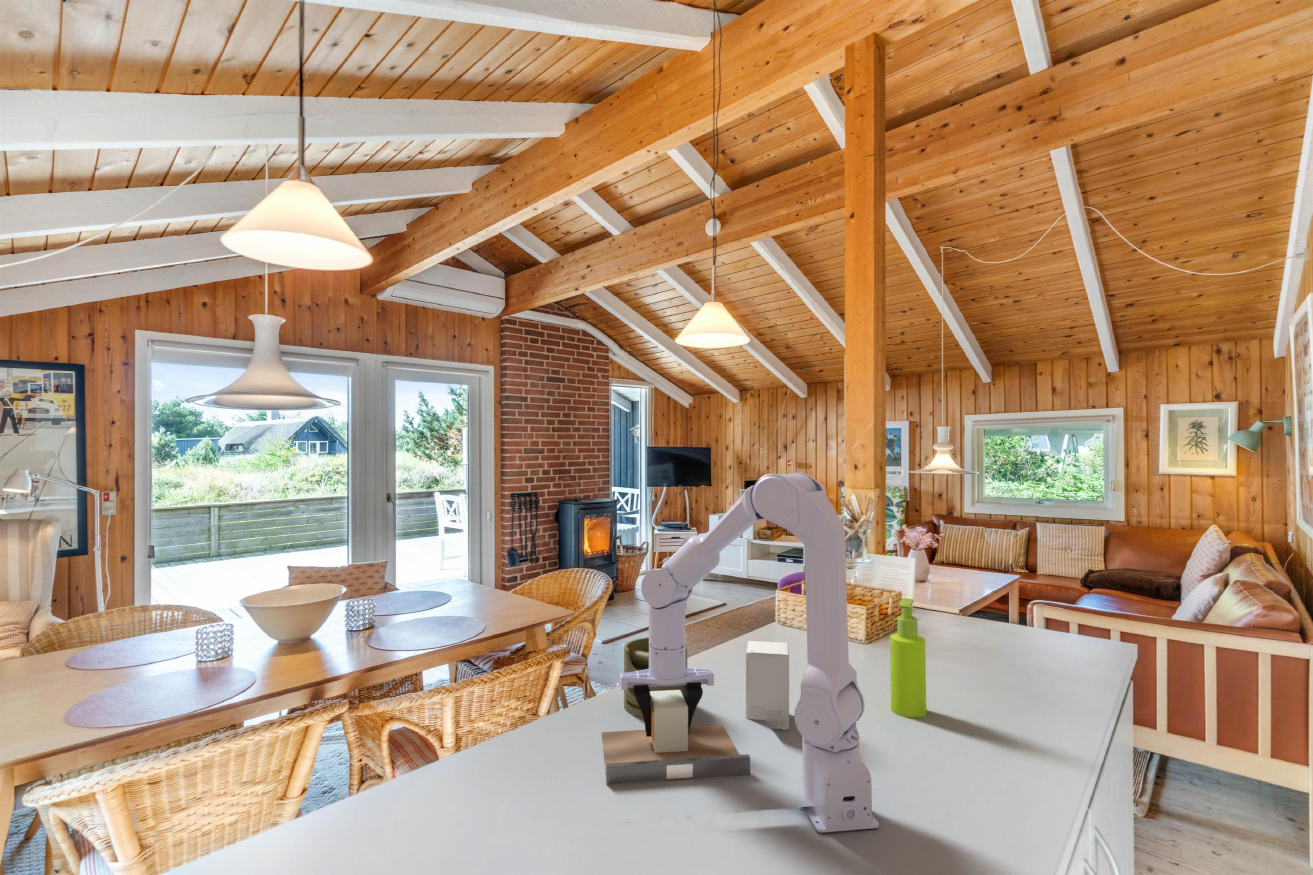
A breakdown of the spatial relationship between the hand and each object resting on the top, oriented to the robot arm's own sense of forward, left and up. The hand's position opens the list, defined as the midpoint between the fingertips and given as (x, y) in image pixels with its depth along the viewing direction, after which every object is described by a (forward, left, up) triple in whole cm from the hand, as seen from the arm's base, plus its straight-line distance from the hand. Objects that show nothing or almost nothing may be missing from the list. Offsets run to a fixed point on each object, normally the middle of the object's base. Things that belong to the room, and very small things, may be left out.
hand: (667, 732), depth 97 cm
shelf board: (-4, 0, -3) cm, 4 cm away
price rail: (-11, 0, -1) cm, 11 cm away
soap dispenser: (+9, -45, -3) cm, 46 cm away
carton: (0, 0, -1) cm, 1 cm away
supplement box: (+9, -19, -3) cm, 21 cm away
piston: (+14, 0, -3) cm, 14 cm away
